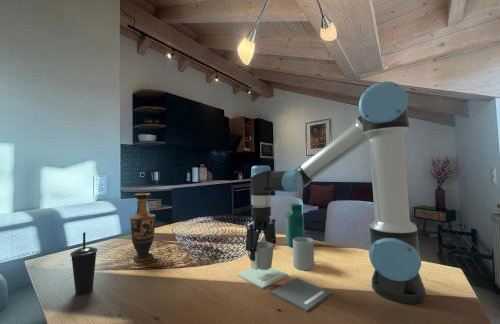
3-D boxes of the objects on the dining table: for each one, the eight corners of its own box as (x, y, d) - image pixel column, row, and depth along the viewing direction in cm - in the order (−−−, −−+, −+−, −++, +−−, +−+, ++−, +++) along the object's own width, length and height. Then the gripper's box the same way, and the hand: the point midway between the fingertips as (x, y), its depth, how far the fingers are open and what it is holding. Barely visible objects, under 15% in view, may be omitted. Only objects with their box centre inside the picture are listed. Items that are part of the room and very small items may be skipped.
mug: (314, 271, 94) (313, 243, 95) (292, 269, 97) (291, 242, 97) (314, 260, 106) (313, 235, 106) (294, 258, 108) (294, 234, 108)
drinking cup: (81, 285, 86) (81, 229, 86) (102, 285, 85) (102, 229, 86) (64, 297, 78) (64, 235, 78) (87, 297, 78) (87, 235, 78)
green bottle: (285, 242, 131) (284, 202, 132) (300, 241, 132) (299, 201, 132) (290, 248, 121) (289, 205, 122) (306, 247, 122) (305, 204, 123)
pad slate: (331, 293, 78) (331, 291, 78) (306, 311, 68) (306, 309, 68) (296, 279, 88) (296, 277, 88) (270, 293, 79) (270, 290, 79)
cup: (272, 272, 86) (272, 248, 87) (245, 269, 89) (245, 246, 89) (275, 264, 94) (274, 242, 94) (250, 261, 96) (250, 240, 96)
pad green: (288, 275, 91) (288, 273, 91) (262, 288, 82) (262, 286, 82) (262, 265, 101) (262, 263, 101) (236, 275, 92) (236, 273, 92)
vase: (158, 259, 110) (157, 193, 110) (132, 265, 104) (131, 195, 104) (152, 252, 119) (152, 192, 119) (128, 257, 112) (128, 193, 113)
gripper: (271, 201, 102) (272, 256, 101) (234, 207, 88) (235, 270, 88) (285, 203, 96) (286, 261, 96) (248, 210, 83) (249, 277, 82)
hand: (261, 265), depth 92 cm, fingers closed on cup, 7 cm apart
